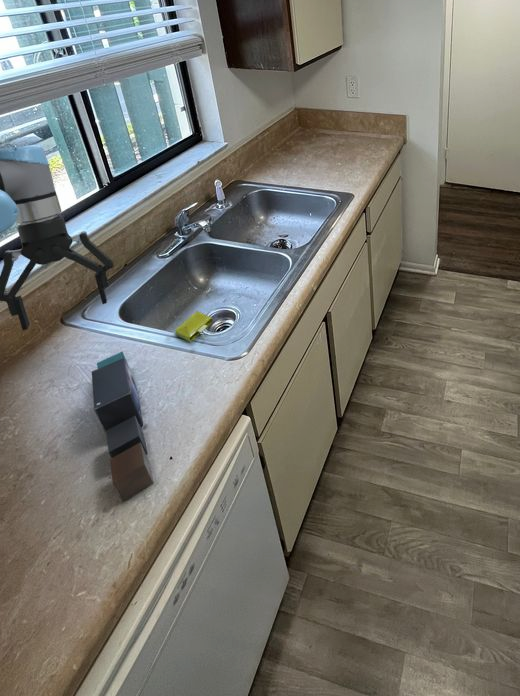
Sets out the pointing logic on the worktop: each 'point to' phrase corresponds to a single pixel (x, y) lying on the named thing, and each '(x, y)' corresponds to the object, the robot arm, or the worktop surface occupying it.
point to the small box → (115, 394)
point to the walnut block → (131, 472)
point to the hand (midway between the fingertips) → (67, 314)
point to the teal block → (111, 360)
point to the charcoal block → (125, 437)
